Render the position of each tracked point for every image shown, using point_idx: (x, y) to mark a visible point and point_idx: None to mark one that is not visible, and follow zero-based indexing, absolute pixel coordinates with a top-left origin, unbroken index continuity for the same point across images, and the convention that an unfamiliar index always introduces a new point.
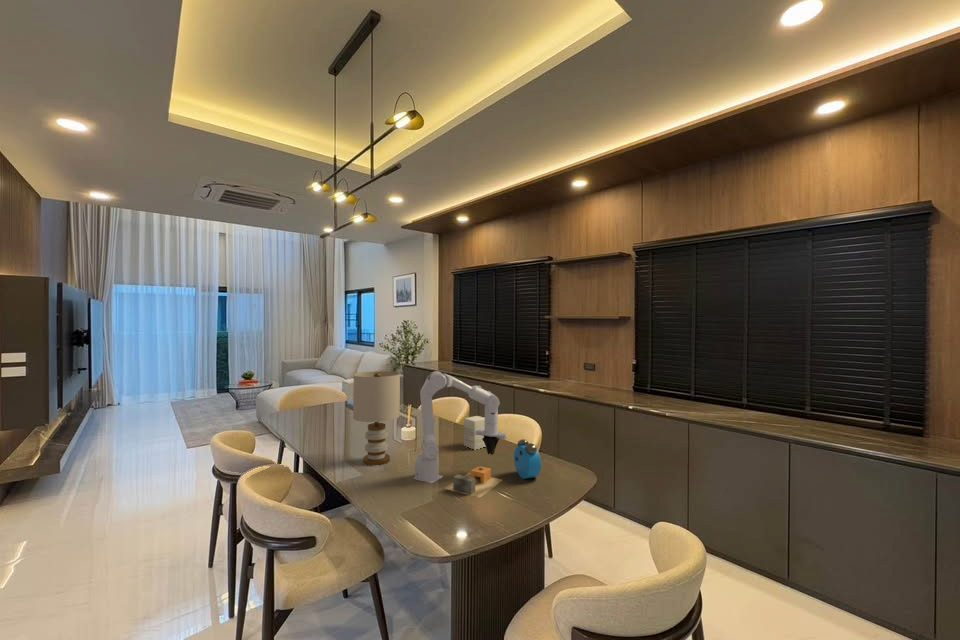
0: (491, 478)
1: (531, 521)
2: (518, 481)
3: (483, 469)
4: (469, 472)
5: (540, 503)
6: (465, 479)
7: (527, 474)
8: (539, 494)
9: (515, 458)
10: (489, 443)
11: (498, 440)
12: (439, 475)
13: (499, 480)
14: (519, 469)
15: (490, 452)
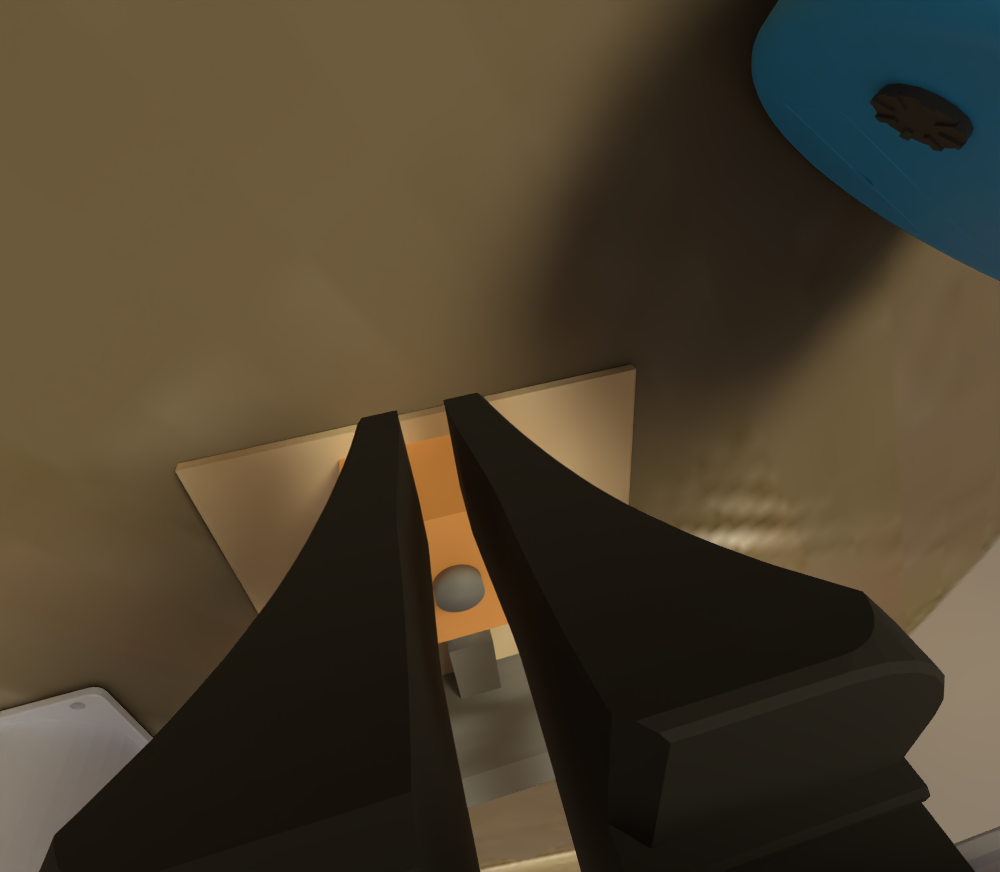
0: (512, 420)
1: (921, 608)
2: (784, 260)
3: (479, 565)
4: (180, 474)
5: (977, 465)
6: (529, 784)
7: (969, 265)
8: (982, 367)
9: (897, 104)
10: (438, 693)
11: (770, 572)
12: (55, 709)
13: (611, 403)
14: (850, 151)
15: (473, 531)
